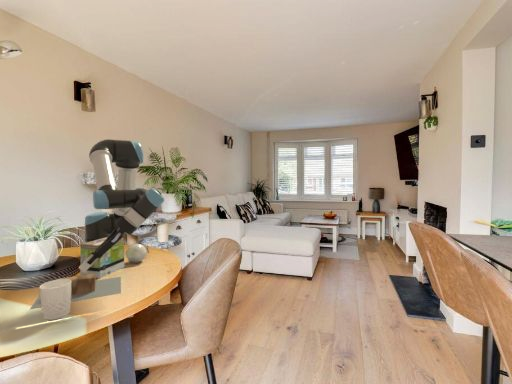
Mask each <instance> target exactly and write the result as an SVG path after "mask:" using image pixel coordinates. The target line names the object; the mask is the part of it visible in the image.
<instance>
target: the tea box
mask: <svg viewBox="0 0 512 384" xmlns="http://www.w3.org/2000/svg"><path fill="white" fill-rule="evenodd" d="M106 239H107V237H106V238H102V239H98V240H95V241H91V242H87V243H85V242H83V243H80V265H81V264H82V263H83V262H84V261H85V260H86V259H87V258H88V257H89V256H90V255H91V253H92V252H94V251H96V249H97V248H98V247H99V246H100V245H101V244H102V243H103V242H104V241H105V240H106ZM123 268H124V269H125V238H124V237H122V239H121V240H119V241H118V242H117V243H116V244H114V245H113V246H112V247H111V248H110V249H109V250H108V251H107V252H106V253H105V254H104V255H103V256H102V257H101V258H99V259H98V260H97V261H96V262H95V263H94V264H93V265H92V266H91V267H89V268H88V269H87V270H86V271H85V272H83V271H82V270H80V276H81V275H88V274H95V273H96V279H98V280H101V279H103V278H104V277H107V276H109V275H111V274H113V273H115V272H116V271H119V270H123Z"/></svg>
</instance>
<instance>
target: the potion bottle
mask: <svg viewBox="0 0 512 384" xmlns="http://www.w3.org/2000/svg"><path fill="white" fill-rule="evenodd" d="M149 253H150V251H149V248H148V245H147V244H141V243H133V244H131V245H130V246H129V247H127V249H126V251H125V257H126V259H127V261H128V262H129V263H141V262H142V261H143V260H145V259H146V257H147V254H149Z"/></svg>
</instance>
